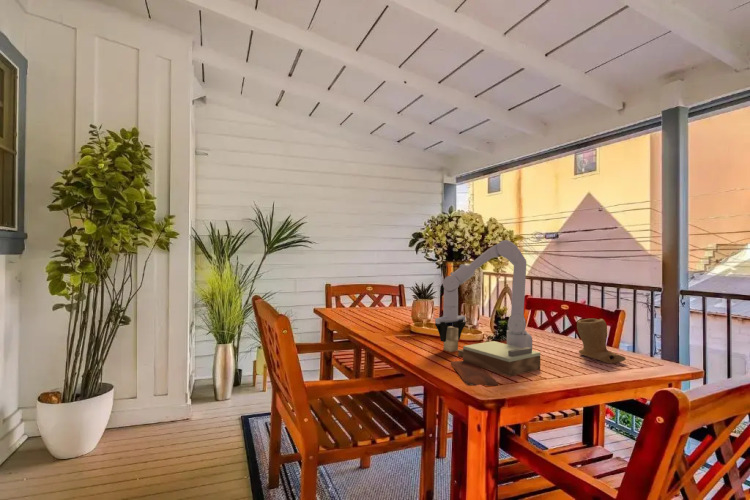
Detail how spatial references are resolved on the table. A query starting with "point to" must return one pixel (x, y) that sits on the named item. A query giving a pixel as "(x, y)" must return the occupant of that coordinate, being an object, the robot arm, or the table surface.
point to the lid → (502, 351)
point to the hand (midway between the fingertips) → (450, 340)
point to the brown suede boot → (596, 341)
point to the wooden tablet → (473, 374)
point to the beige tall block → (451, 339)
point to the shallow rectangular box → (501, 363)
